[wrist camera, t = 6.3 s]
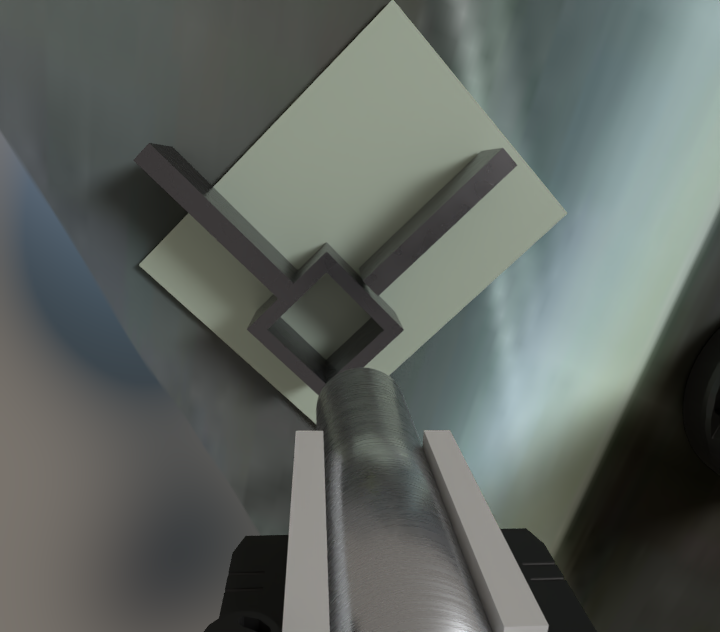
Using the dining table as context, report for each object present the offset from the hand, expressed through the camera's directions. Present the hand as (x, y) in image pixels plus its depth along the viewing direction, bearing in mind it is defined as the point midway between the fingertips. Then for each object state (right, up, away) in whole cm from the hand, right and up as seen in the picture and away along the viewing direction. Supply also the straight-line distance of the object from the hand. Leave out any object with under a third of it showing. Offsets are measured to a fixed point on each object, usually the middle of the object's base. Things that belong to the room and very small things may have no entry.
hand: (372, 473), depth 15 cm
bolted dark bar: (+4, +10, +17) cm, 20 cm away
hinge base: (-6, +8, +17) cm, 20 cm away
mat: (-1, +9, +17) cm, 20 cm away
